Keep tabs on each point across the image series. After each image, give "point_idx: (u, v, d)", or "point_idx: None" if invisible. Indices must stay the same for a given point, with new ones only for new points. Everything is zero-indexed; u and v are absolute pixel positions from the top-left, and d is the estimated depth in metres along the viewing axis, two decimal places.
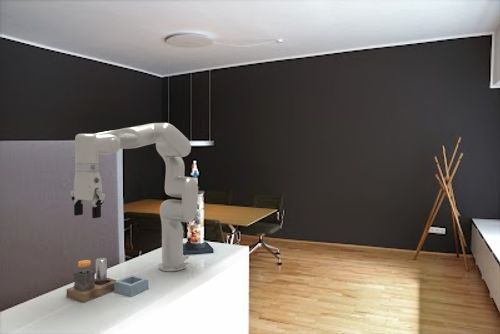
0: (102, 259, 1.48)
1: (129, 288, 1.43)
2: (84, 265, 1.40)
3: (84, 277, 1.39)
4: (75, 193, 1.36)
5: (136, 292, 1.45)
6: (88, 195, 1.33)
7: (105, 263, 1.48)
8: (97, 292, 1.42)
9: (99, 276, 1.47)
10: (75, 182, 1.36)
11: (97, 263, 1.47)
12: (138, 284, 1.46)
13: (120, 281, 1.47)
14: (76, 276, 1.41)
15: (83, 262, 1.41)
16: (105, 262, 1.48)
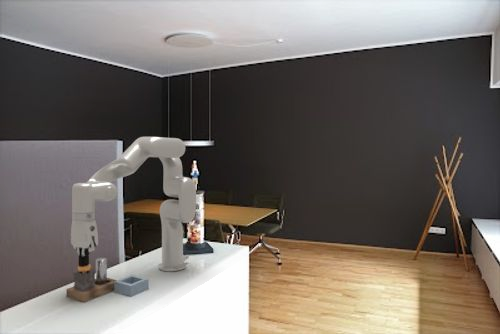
0: (102, 259, 1.48)
1: (129, 288, 1.43)
2: (84, 269, 1.40)
3: (84, 277, 1.39)
4: (72, 240, 1.41)
5: (136, 292, 1.45)
6: (84, 243, 1.38)
7: (105, 263, 1.48)
8: (97, 292, 1.42)
9: (99, 276, 1.47)
10: (72, 229, 1.41)
11: (97, 263, 1.47)
12: (138, 284, 1.46)
13: (120, 281, 1.47)
14: (76, 276, 1.41)
15: None
16: (105, 262, 1.48)
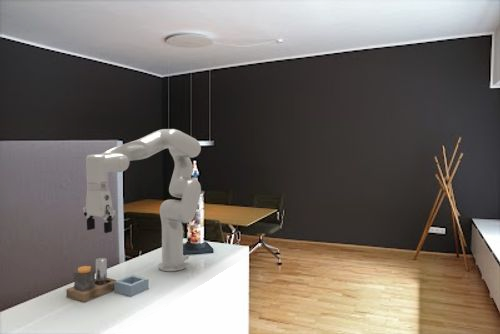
0: (102, 259, 1.48)
1: (129, 288, 1.43)
2: (84, 271, 1.40)
3: (84, 277, 1.39)
4: (87, 209, 1.46)
5: (136, 292, 1.45)
6: (100, 212, 1.43)
7: (105, 263, 1.48)
8: (97, 292, 1.42)
9: (99, 276, 1.47)
10: (87, 199, 1.46)
11: (97, 263, 1.47)
12: (138, 284, 1.46)
13: (120, 281, 1.47)
14: (76, 276, 1.41)
15: (83, 268, 1.41)
16: (105, 262, 1.48)
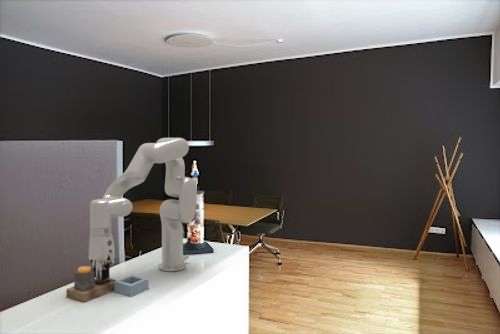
0: None
1: (129, 288, 1.43)
2: (84, 271, 1.40)
3: (84, 277, 1.39)
4: (90, 254, 1.48)
5: (136, 292, 1.45)
6: (102, 257, 1.45)
7: (105, 263, 1.48)
8: (97, 292, 1.42)
9: (99, 276, 1.47)
10: (90, 244, 1.48)
11: (97, 263, 1.47)
12: (138, 284, 1.46)
13: (120, 281, 1.47)
14: (76, 276, 1.41)
15: (83, 268, 1.41)
16: None
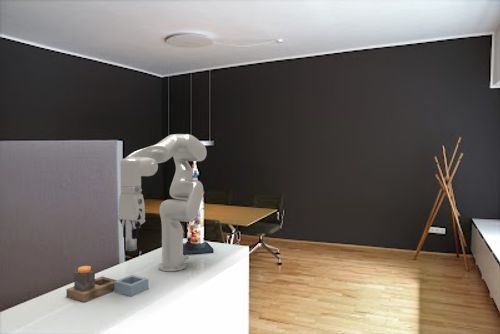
0: None
1: (129, 288, 1.43)
2: (84, 271, 1.40)
3: (84, 277, 1.39)
4: (120, 213, 1.47)
5: (136, 292, 1.45)
6: (133, 216, 1.43)
7: None
8: (97, 292, 1.42)
9: (129, 235, 1.45)
10: (120, 203, 1.47)
11: (127, 222, 1.45)
12: (138, 284, 1.46)
13: (120, 281, 1.47)
14: (76, 276, 1.41)
15: (83, 268, 1.41)
16: None
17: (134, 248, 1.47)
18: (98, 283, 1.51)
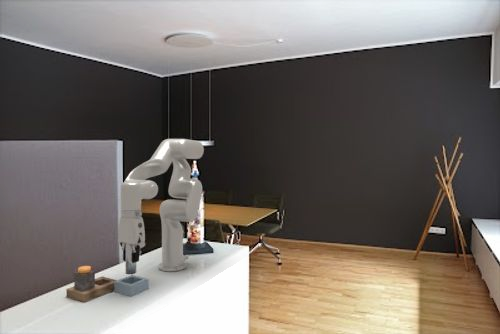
0: None
1: (129, 288, 1.43)
2: (84, 271, 1.40)
3: (84, 277, 1.39)
4: (120, 236, 1.47)
5: (136, 292, 1.45)
6: (133, 240, 1.44)
7: None
8: (97, 292, 1.42)
9: (129, 259, 1.46)
10: (120, 226, 1.47)
11: (127, 246, 1.46)
12: (138, 284, 1.46)
13: (120, 281, 1.47)
14: (76, 276, 1.41)
15: (83, 268, 1.41)
16: (135, 245, 1.47)
17: (134, 271, 1.47)
18: (98, 283, 1.51)
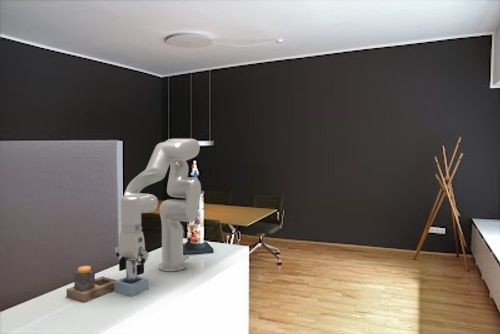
0: (132, 260, 1.48)
1: (129, 288, 1.43)
2: (84, 271, 1.40)
3: (84, 277, 1.39)
4: (120, 250, 1.48)
5: (136, 292, 1.45)
6: (133, 254, 1.44)
7: (135, 264, 1.48)
8: (97, 292, 1.42)
9: (130, 276, 1.46)
10: (120, 241, 1.47)
11: (128, 264, 1.46)
12: (138, 284, 1.46)
13: (120, 281, 1.47)
14: (76, 276, 1.41)
15: (83, 268, 1.41)
16: (135, 263, 1.48)
17: None
18: (98, 283, 1.51)
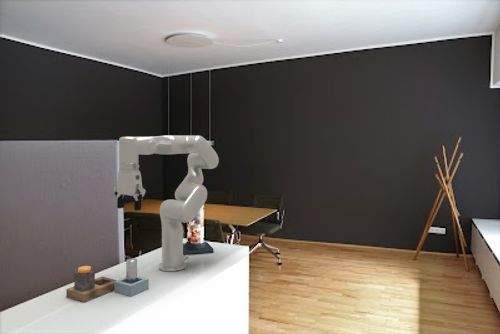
0: (133, 260, 1.48)
1: (129, 288, 1.43)
2: (84, 271, 1.40)
3: (84, 277, 1.39)
4: (118, 189, 1.55)
5: (136, 292, 1.45)
6: (131, 191, 1.52)
7: (136, 264, 1.48)
8: (97, 292, 1.42)
9: (130, 276, 1.46)
10: (118, 179, 1.55)
11: (128, 264, 1.46)
12: (138, 284, 1.46)
13: (120, 281, 1.47)
14: (76, 276, 1.41)
15: (83, 268, 1.41)
16: (136, 263, 1.48)
17: None
18: (98, 283, 1.51)
